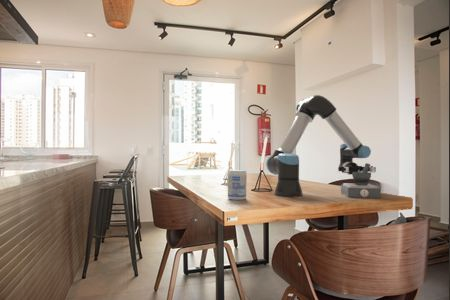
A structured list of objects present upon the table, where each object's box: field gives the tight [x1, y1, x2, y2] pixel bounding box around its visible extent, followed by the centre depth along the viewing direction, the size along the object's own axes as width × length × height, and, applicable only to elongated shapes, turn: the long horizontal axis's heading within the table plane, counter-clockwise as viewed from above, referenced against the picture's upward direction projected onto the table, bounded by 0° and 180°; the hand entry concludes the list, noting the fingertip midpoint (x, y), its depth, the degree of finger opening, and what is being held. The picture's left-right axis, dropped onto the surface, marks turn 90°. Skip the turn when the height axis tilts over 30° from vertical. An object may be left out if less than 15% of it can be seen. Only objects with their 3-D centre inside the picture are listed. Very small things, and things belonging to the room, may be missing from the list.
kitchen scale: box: [340, 182, 381, 199], centre depth 156 cm, size 16×17×6 cm
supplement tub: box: [227, 169, 247, 201], centre depth 145 cm, size 10×10×15 cm
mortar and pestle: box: [351, 163, 372, 185], centre depth 157 cm, size 11×9×12 cm
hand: (361, 169), depth 154 cm, fingers open, 13 cm apart
